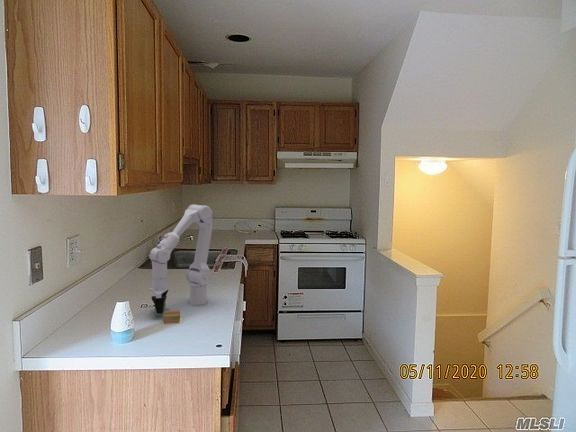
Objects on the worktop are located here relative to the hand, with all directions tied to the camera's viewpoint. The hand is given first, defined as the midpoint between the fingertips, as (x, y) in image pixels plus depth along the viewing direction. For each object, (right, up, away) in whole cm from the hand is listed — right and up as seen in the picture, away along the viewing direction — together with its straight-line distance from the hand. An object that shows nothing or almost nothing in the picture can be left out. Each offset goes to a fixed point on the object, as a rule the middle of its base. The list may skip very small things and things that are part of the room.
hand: (160, 310), depth 160 cm
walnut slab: (+7, -2, -7) cm, 10 cm away
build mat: (+4, -3, -4) cm, 6 cm away
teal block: (0, -1, 0) cm, 1 cm away
